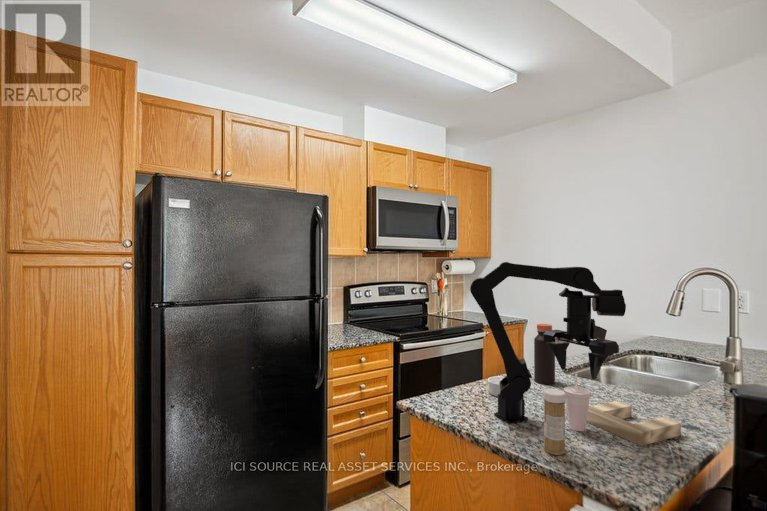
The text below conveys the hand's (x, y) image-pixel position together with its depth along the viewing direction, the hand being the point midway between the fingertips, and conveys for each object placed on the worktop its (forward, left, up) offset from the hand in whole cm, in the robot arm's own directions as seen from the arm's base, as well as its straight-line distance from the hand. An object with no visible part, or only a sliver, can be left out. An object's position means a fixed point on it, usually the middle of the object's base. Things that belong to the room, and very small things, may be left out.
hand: (578, 374), depth 105 cm
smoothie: (-2, -2, -13) cm, 14 cm away
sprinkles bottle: (-17, -9, -13) cm, 24 cm away
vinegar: (+20, +31, -13) cm, 39 cm away
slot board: (+11, -6, -13) cm, 18 cm away
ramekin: (-2, +27, -13) cm, 30 cm away
